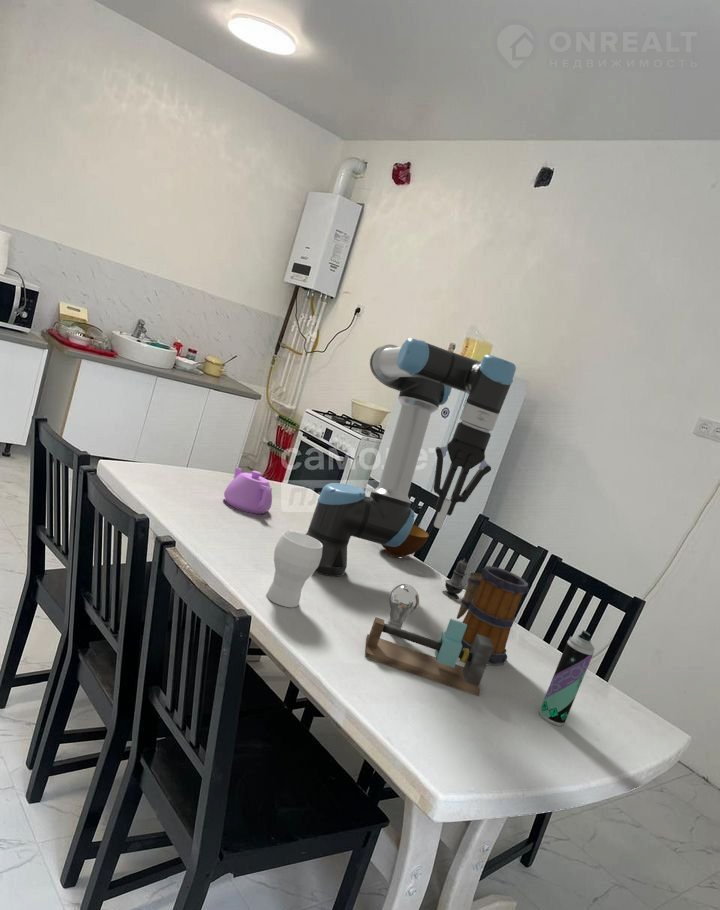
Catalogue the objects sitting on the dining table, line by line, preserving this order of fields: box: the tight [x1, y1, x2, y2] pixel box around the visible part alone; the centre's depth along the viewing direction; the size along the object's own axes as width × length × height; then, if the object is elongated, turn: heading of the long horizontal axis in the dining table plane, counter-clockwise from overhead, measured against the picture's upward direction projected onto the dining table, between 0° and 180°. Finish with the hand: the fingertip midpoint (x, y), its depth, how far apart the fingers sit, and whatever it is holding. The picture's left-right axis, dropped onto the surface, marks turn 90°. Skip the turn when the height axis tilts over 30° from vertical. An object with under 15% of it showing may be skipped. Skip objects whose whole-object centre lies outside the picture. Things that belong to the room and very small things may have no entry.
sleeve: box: [434, 618, 467, 667], centre depth 148 cm, size 4×4×9 cm
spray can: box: [538, 630, 595, 727], centre depth 144 cm, size 6×6×20 cm
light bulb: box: [387, 583, 420, 629], centre depth 161 cm, size 7×7×12 cm
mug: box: [456, 565, 530, 667], centre depth 170 cm, size 19×14×20 cm
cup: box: [266, 530, 323, 608], centre depth 158 cm, size 11×11×15 cm
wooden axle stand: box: [364, 616, 493, 697], centre depth 148 cm, size 25×10×10 cm, turn 88°
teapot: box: [223, 467, 273, 515], centre depth 224 cm, size 22×16×12 cm
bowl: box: [381, 523, 430, 558], centre depth 228 cm, size 18×18×10 cm
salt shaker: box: [441, 558, 468, 600], centre depth 205 cm, size 6×6×12 cm
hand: (437, 526), depth 153 cm, fingers closed
